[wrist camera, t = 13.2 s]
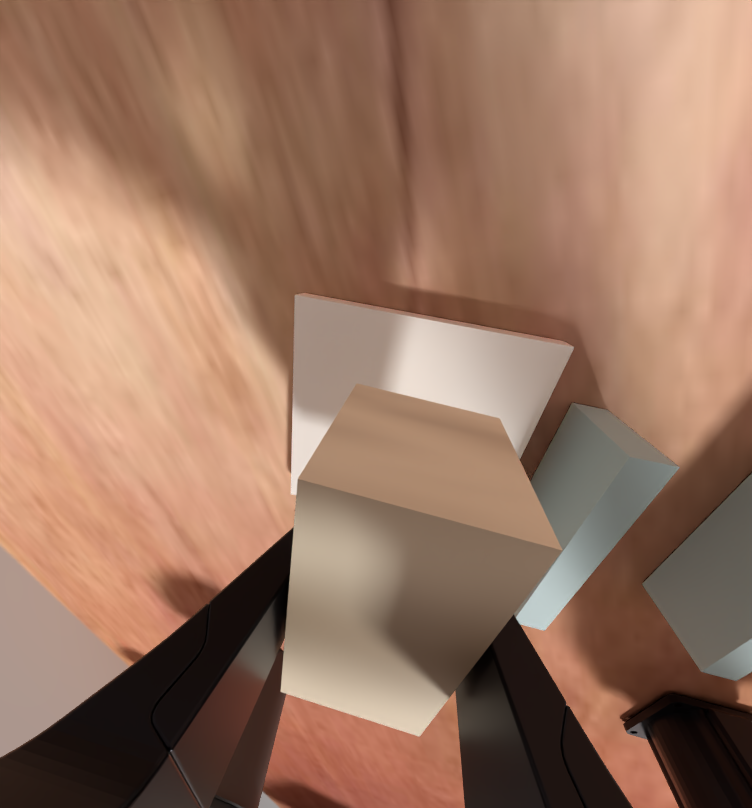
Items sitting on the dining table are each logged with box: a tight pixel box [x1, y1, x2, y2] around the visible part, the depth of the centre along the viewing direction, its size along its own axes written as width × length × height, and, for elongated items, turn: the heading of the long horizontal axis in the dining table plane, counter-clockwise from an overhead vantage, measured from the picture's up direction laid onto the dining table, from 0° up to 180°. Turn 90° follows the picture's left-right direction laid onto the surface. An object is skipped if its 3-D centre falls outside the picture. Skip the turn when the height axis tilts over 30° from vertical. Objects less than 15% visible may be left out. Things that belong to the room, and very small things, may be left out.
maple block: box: [281, 384, 563, 736], centre depth 8 cm, size 8×4×4 cm, turn 169°
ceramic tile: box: [291, 293, 574, 495], centre depth 14 cm, size 11×11×1 cm
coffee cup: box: [210, 650, 286, 808], centre depth 24 cm, size 8×8×10 cm
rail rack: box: [514, 403, 752, 681], centre depth 13 cm, size 10×10×4 cm
